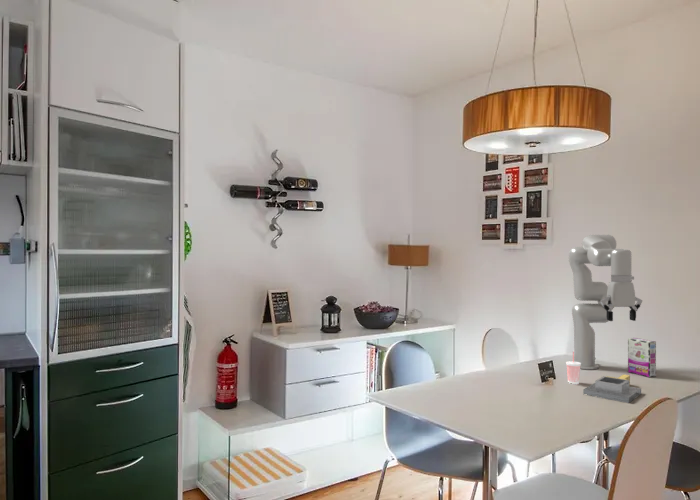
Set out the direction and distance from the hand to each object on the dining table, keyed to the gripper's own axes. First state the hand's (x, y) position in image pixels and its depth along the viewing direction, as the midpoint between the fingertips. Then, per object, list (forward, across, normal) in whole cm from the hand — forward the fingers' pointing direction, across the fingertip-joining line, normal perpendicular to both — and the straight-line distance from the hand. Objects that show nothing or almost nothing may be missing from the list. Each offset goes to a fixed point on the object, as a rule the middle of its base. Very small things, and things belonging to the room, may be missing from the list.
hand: (621, 320), depth 214 cm
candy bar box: (+30, -26, -27) cm, 48 cm away
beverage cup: (+30, +13, -16) cm, 36 cm away
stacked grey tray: (+30, +5, +2) cm, 30 cm away
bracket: (+30, -4, -7) cm, 31 cm away
